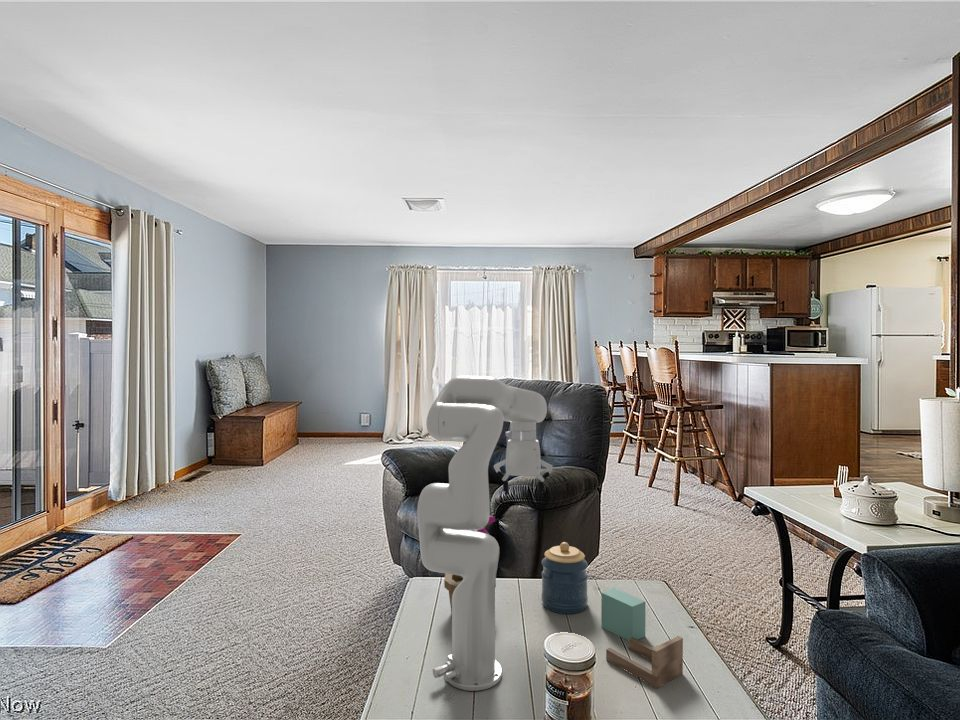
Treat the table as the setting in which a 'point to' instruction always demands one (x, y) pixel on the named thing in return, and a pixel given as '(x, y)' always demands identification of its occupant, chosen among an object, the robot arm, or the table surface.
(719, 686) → the table surface
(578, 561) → the canister
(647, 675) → the book slot
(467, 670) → the robot arm
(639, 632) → the teal rectangular block
